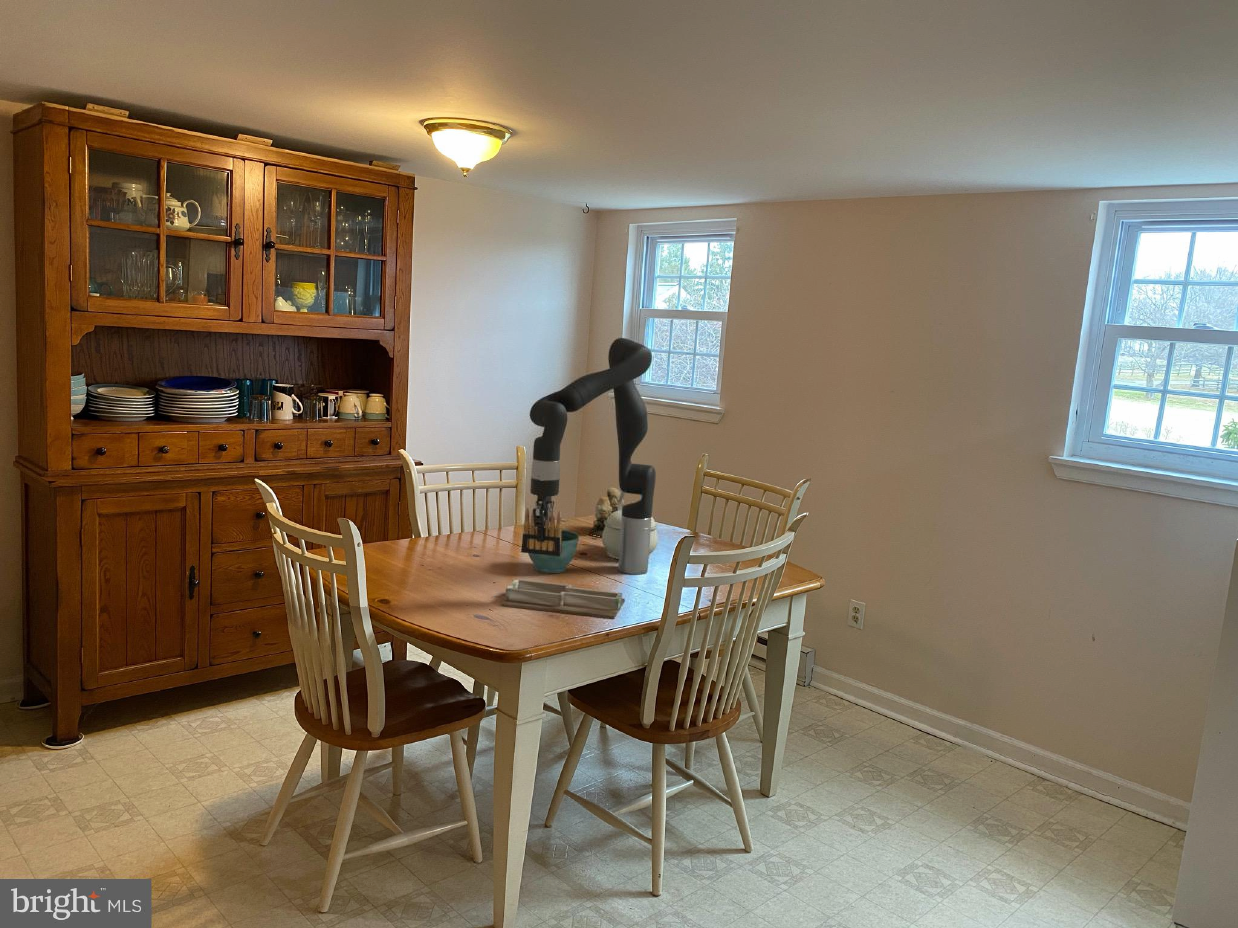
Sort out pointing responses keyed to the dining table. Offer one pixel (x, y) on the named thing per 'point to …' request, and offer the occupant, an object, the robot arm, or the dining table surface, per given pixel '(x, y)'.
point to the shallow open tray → (562, 599)
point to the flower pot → (557, 562)
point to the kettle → (614, 528)
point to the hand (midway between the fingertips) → (542, 540)
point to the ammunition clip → (554, 536)
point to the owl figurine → (605, 510)
